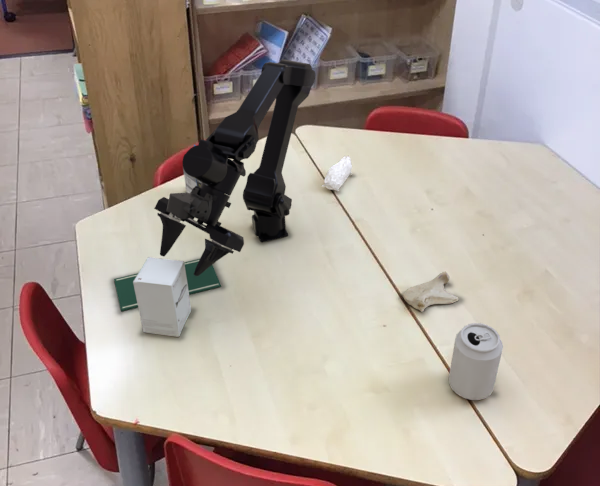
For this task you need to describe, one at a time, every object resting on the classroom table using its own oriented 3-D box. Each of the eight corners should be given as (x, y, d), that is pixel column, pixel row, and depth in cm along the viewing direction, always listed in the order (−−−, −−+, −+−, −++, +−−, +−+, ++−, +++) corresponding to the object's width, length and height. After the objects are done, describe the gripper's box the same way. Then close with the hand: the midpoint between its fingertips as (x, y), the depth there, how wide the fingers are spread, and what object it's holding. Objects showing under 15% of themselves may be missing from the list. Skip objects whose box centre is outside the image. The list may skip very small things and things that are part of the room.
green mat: (209, 257, 143) (209, 256, 143) (221, 286, 135) (221, 285, 135) (114, 280, 138) (113, 278, 137) (121, 311, 130) (120, 310, 130)
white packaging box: (179, 338, 124) (171, 286, 117) (142, 332, 125) (131, 281, 118) (193, 310, 130) (185, 260, 123) (156, 306, 131) (147, 255, 124)
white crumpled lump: (331, 176, 171) (318, 187, 162) (339, 151, 168) (326, 162, 159) (349, 183, 170) (337, 195, 161) (357, 158, 167) (345, 169, 158)
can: (443, 370, 117) (450, 320, 110) (485, 367, 117) (496, 317, 110) (454, 405, 111) (463, 354, 103) (499, 401, 111) (511, 351, 104)
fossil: (465, 298, 131) (467, 285, 129) (419, 316, 127) (420, 303, 125) (443, 278, 136) (445, 265, 134) (399, 295, 132) (400, 281, 130)
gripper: (154, 159, 122) (116, 236, 122) (227, 194, 112) (186, 278, 112) (191, 178, 132) (156, 249, 131) (261, 212, 122) (223, 289, 122)
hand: (178, 265), depth 124 cm, fingers open, 9 cm apart
